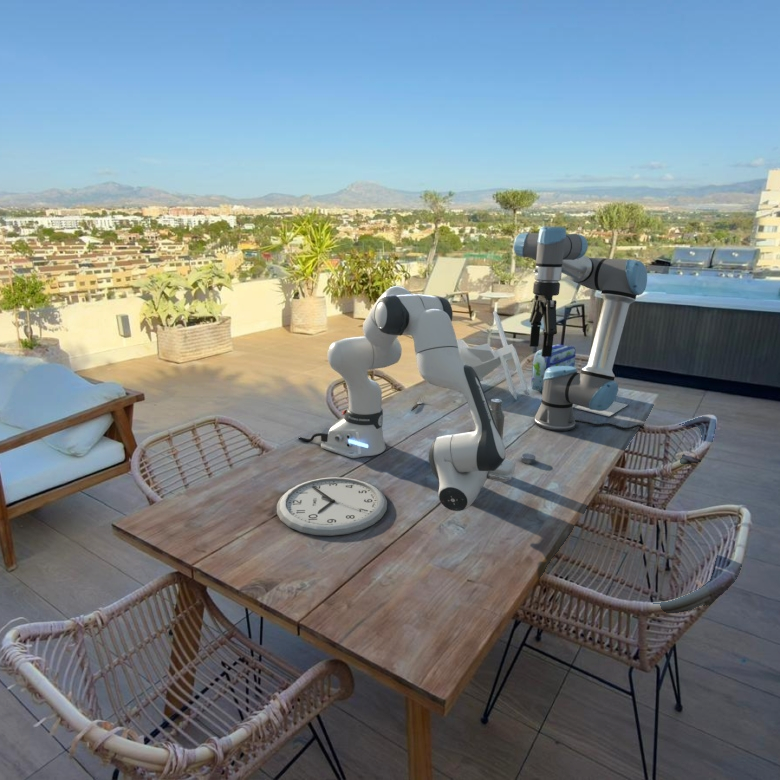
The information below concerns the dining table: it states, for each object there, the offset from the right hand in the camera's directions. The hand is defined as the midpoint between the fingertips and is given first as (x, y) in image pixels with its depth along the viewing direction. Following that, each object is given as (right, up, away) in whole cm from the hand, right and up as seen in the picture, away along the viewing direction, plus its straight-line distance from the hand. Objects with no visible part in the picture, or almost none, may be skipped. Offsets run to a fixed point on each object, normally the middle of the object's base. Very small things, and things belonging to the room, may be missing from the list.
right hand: (539, 351), depth 161 cm
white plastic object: (-5, -13, +82) cm, 83 cm away
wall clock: (-62, -43, -18) cm, 78 cm away
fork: (-35, -19, +62) cm, 73 cm away
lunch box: (+31, -12, +89) cm, 95 cm away
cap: (-1, -34, +11) cm, 36 cm away
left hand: (-19, -30, -11) cm, 37 cm away
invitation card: (+45, -19, +65) cm, 82 cm away
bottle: (-15, -38, +2) cm, 41 cm away
